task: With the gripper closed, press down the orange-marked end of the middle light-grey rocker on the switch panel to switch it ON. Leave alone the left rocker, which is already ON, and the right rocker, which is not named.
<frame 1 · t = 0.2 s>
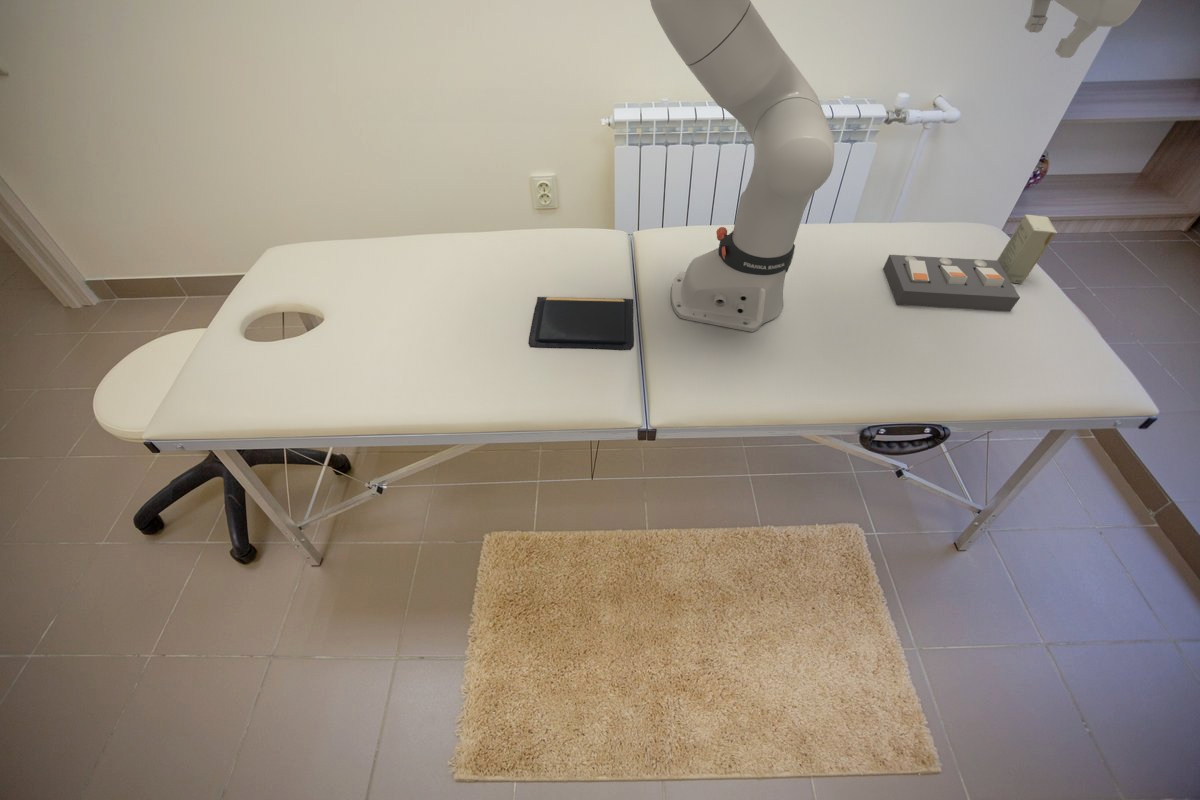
hand: (1046, 42, 77), 47 cm above the table, tool pointing down, fingers open, 8 cm apart
rocker middle: (952, 274, 115), point 4 cm above the table, hinge at -12.0°
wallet: (583, 325, 111), on the table
switch panel: (944, 289, 117), on the table
skincare box: (1006, 274, 121), on the table
rocker right: (988, 277, 114), point 4 cm above the table, hinge at -12.0°
rocker left: (916, 273, 115), point 4 cm above the table, hinge at 12.0°
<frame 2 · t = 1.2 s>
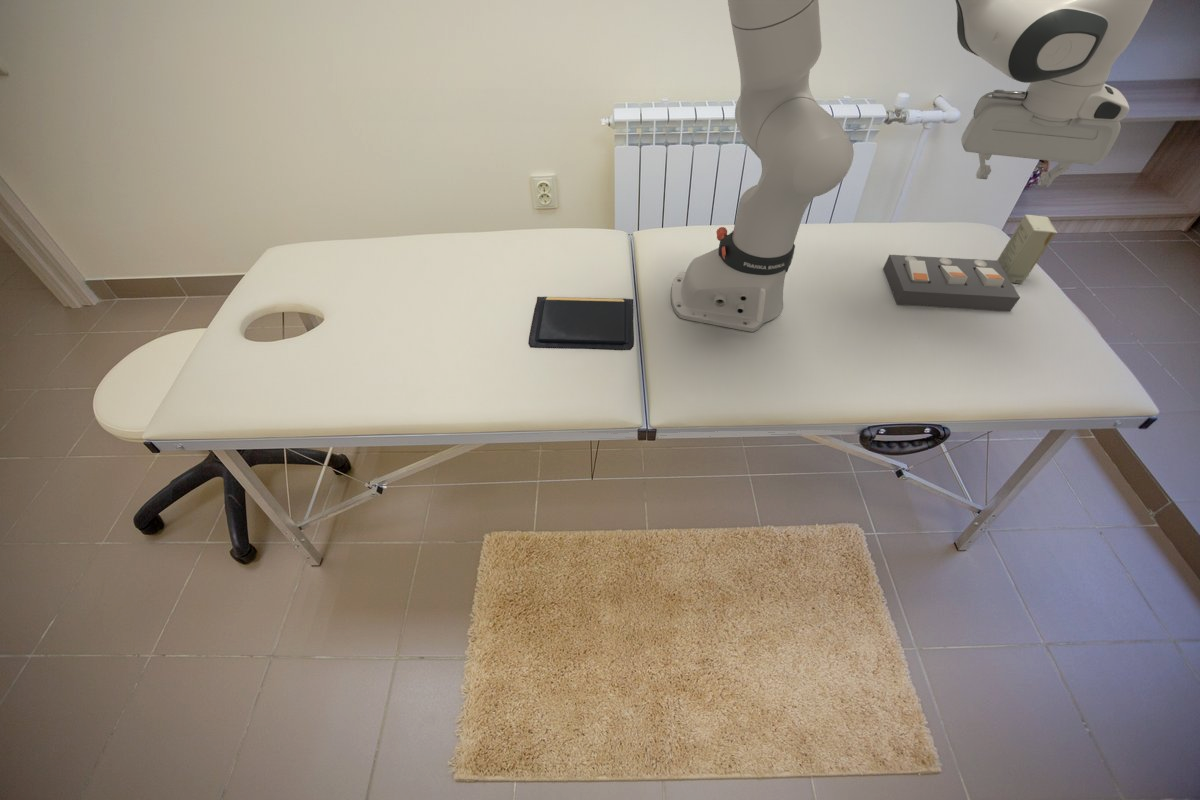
hand: (1011, 180, 96), 25 cm above the table, tool pointing down, fingers open, 8 cm apart
nothing on the table moved.
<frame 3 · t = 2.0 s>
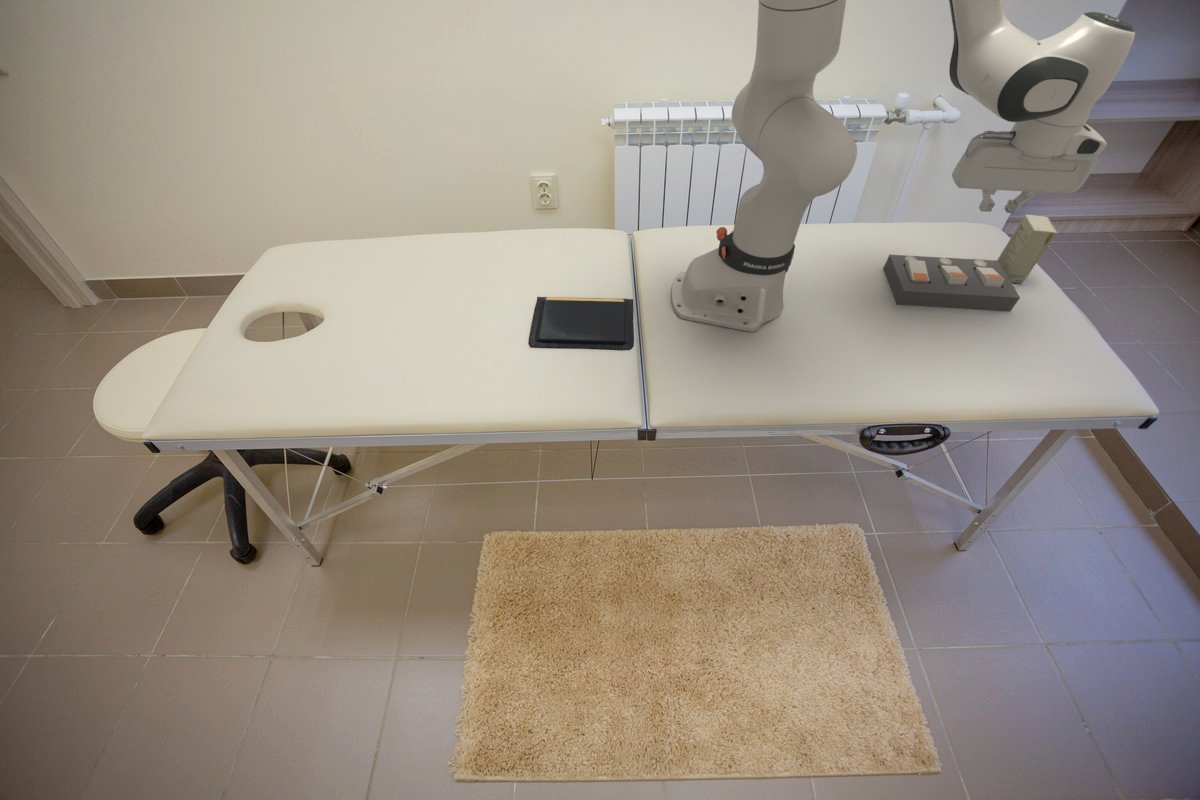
hand: (996, 210, 102), 19 cm above the table, tool pointing down, fingers open, 3 cm apart
nothing on the table moved.
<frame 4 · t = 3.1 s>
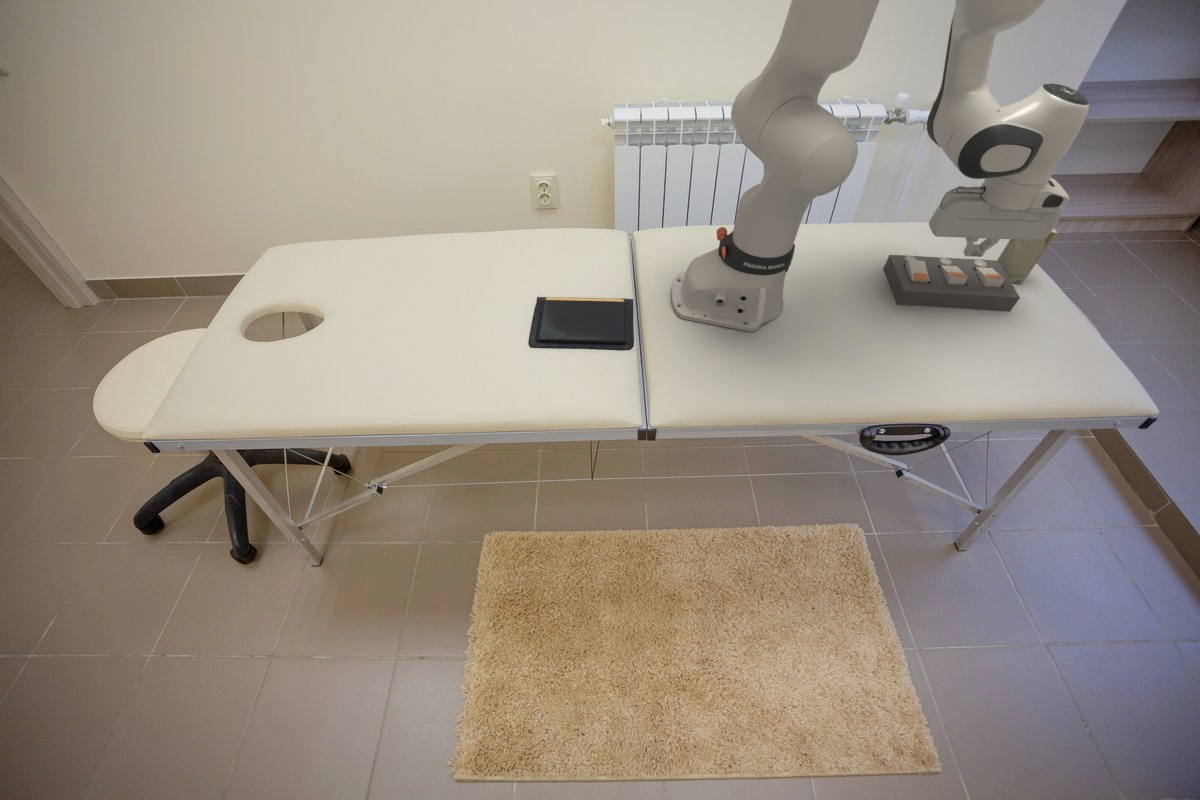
hand: (972, 254, 109), 10 cm above the table, tool pointing down, fingers closed
nothing on the table moved.
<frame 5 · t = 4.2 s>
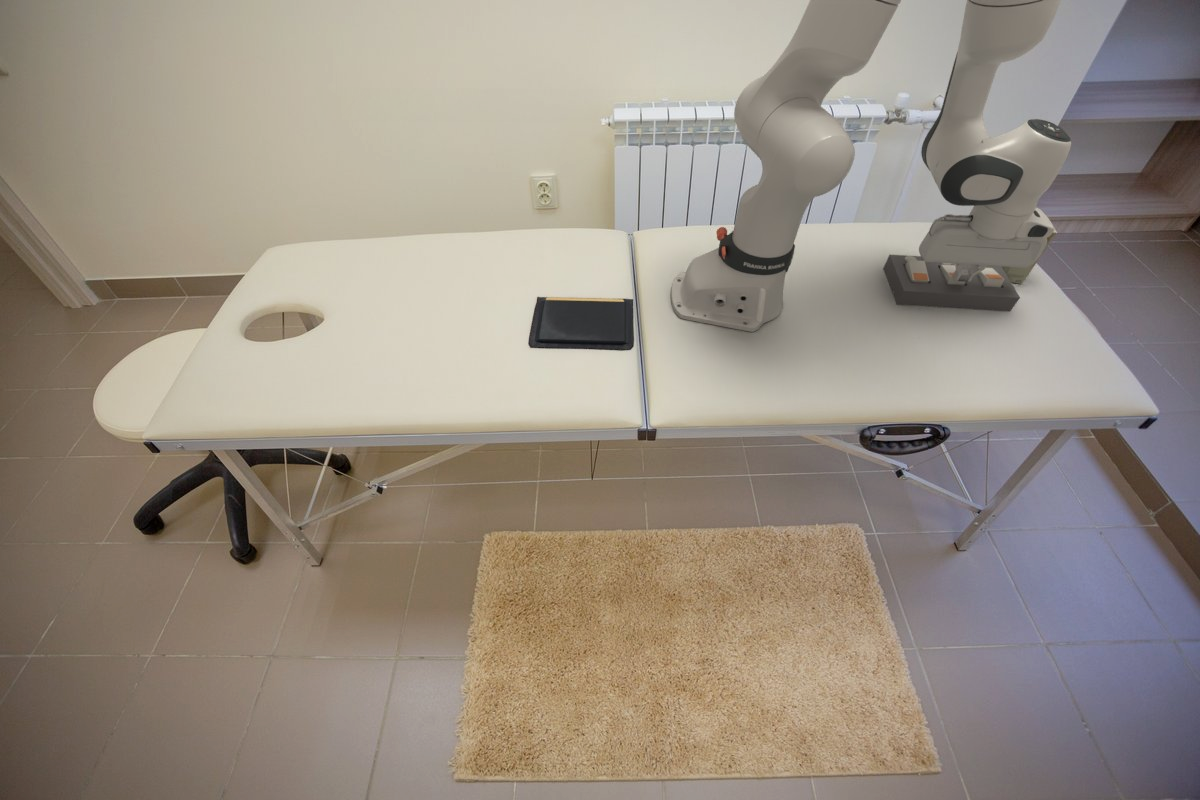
hand: (960, 279, 112), 5 cm above the table, tool pointing down, fingers closed, pressing on rocker middle
rocker middle: (952, 275, 115), point 4 cm above the table, hinge at -8.7°, touching gripper
everything else where it was.
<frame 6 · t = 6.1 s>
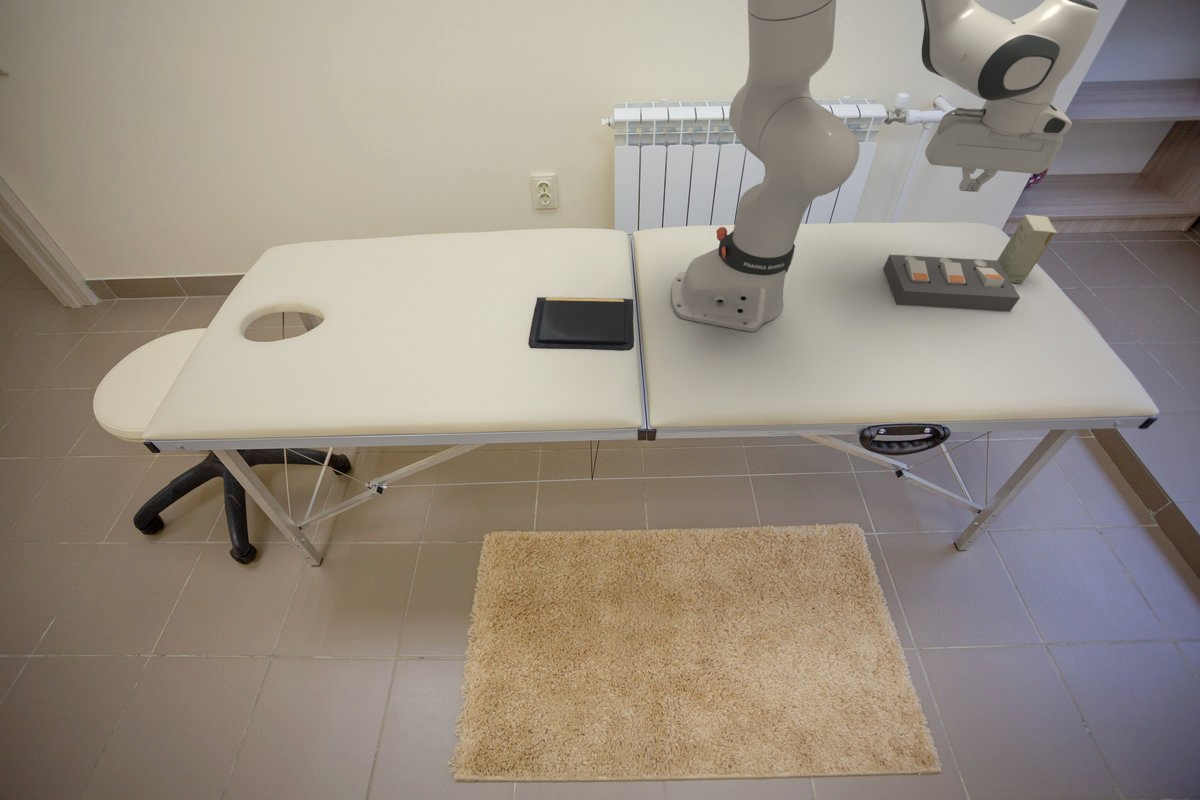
hand: (967, 190, 104), 20 cm above the table, tool pointing down, fingers closed
rocker middle: (952, 275, 115), point 4 cm above the table, hinge at 12.7°
everything else where it was.
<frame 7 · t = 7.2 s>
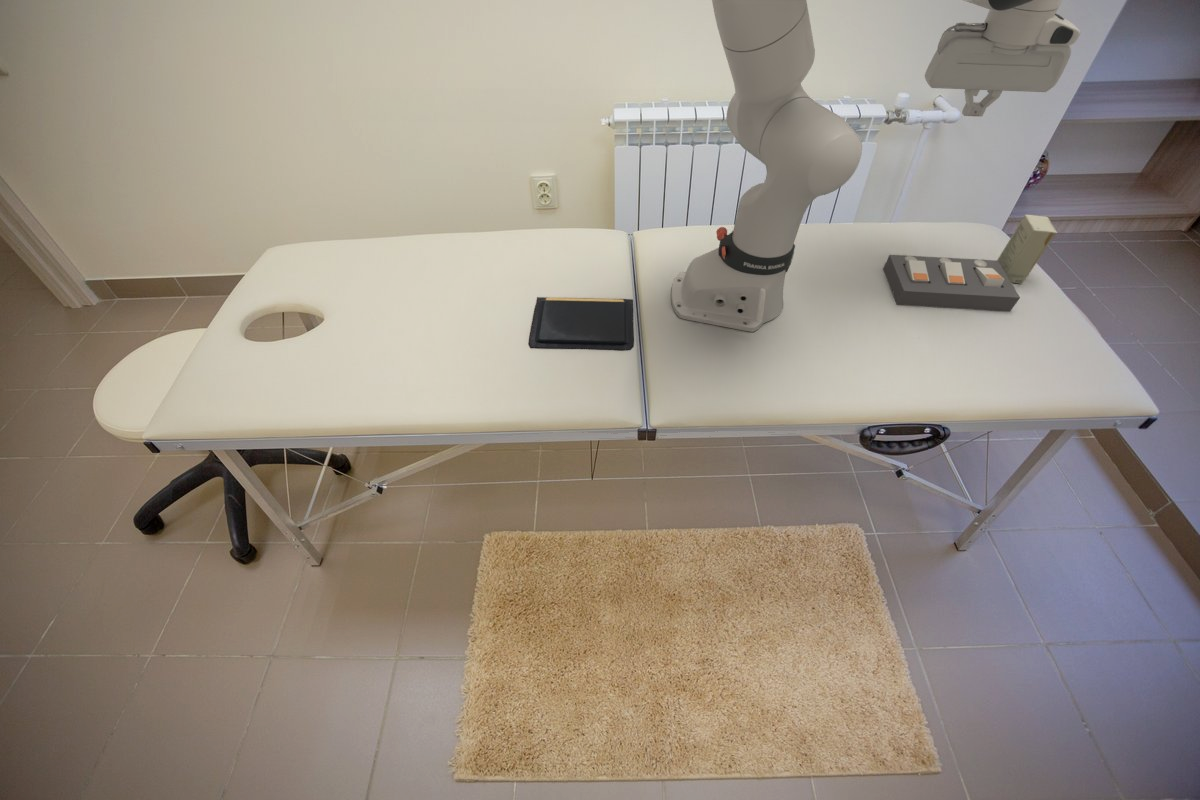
hand: (971, 115, 100), 31 cm above the table, tool pointing down, fingers closed
rocker middle: (952, 275, 115), point 4 cm above the table, hinge at 15.9°
everything else where it was.
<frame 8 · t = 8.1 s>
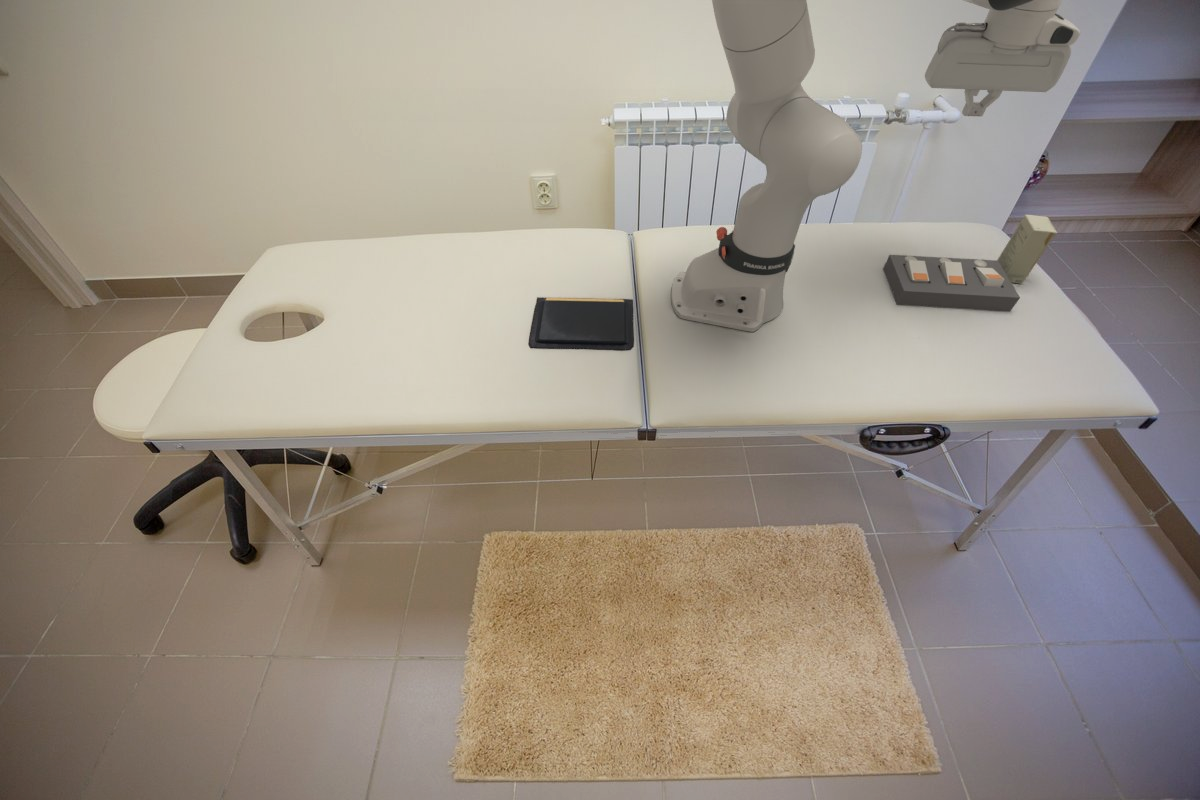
hand: (971, 115, 100), 31 cm above the table, tool pointing down, fingers closed
rocker middle: (952, 275, 115), point 4 cm above the table, hinge at 17.7°
everything else where it was.
at the end: rocker middle at +18° (first picture: -12°); rocker left at +12° (first picture: +12°); rocker right at -12° (first picture: -12°) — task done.
